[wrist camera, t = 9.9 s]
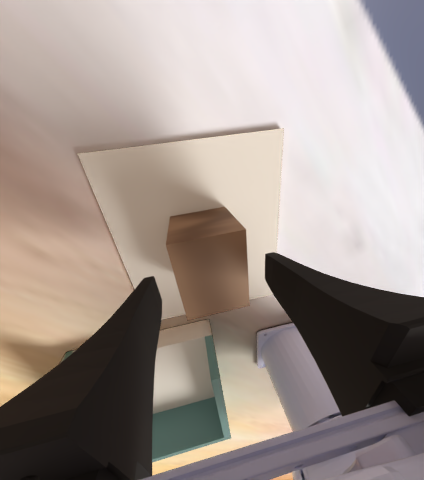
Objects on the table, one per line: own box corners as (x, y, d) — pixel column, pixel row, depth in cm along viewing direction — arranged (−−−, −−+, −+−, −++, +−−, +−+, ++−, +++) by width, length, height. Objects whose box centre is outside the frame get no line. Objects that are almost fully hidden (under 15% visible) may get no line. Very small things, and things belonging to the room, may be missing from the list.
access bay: (209, 319, 20) (220, 377, 15) (220, 380, 26) (231, 438, 21) (65, 352, 18) (19, 431, 13) (114, 409, 25) (96, 479, 19)
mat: (281, 128, 13) (284, 128, 12) (272, 292, 20) (274, 294, 20) (80, 153, 11) (77, 153, 11) (149, 319, 18) (148, 322, 18)
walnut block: (224, 206, 14) (246, 229, 10) (230, 266, 17) (249, 305, 12) (169, 216, 14) (165, 245, 9) (185, 276, 16) (187, 320, 12)
